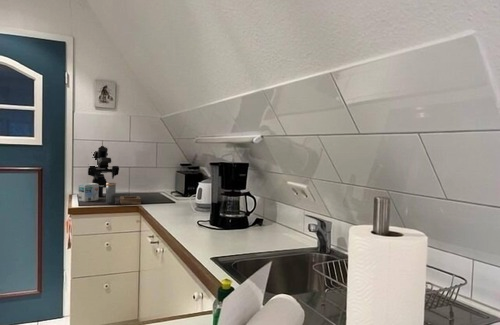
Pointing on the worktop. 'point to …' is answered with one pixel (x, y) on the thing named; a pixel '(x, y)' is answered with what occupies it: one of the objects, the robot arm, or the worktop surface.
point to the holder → (130, 200)
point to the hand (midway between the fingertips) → (105, 178)
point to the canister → (110, 193)
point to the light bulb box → (88, 192)
